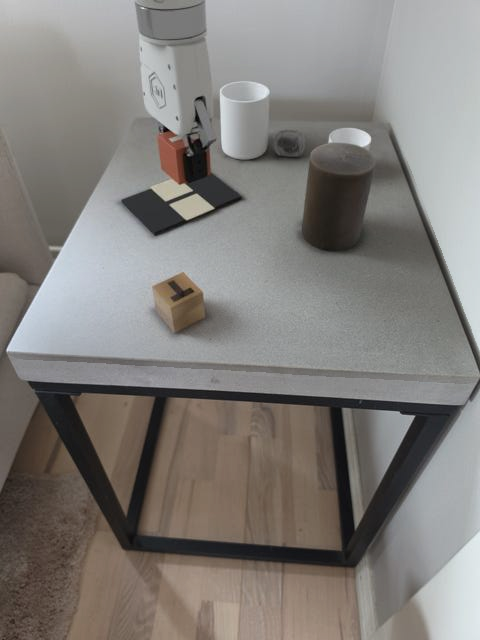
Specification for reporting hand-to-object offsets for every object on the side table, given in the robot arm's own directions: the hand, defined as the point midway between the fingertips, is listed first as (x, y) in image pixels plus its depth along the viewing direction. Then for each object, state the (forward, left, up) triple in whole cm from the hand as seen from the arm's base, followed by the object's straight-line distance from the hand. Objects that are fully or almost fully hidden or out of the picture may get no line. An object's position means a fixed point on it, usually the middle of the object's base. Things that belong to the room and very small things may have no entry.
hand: (185, 168), depth 66 cm
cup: (+36, +3, -15) cm, 40 cm away
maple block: (-9, -10, -15) cm, 20 cm away
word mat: (+6, +14, -15) cm, 22 cm away
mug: (+27, +23, -15) cm, 39 cm away
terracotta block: (0, 0, 0) cm, 0 cm away
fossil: (+32, +15, -15) cm, 39 cm away
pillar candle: (+21, -9, -15) cm, 28 cm away
